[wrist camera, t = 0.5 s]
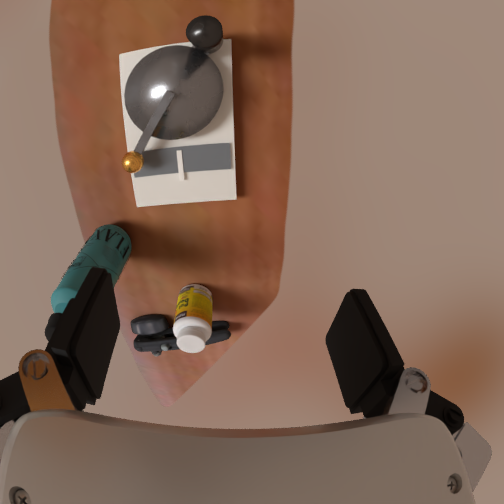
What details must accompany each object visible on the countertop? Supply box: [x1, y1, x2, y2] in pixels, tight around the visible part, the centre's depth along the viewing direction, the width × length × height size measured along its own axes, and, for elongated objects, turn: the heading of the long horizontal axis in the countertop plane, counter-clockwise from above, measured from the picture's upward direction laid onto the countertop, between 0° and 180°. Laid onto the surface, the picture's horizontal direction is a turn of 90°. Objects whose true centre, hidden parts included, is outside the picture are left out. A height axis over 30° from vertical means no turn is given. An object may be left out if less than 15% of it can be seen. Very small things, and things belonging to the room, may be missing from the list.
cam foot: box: [122, 16, 224, 173], centre depth 25 cm, size 19×11×7 cm, turn 146°
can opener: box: [131, 315, 231, 356], centre depth 47 cm, size 18×7×6 cm, turn 91°
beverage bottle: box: [45, 225, 132, 341], centre depth 30 cm, size 6×7×20 cm
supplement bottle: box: [173, 284, 213, 353], centre depth 41 cm, size 6×6×10 cm
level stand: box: [119, 39, 237, 207], centre depth 30 cm, size 20×13×2 cm, turn 1°
